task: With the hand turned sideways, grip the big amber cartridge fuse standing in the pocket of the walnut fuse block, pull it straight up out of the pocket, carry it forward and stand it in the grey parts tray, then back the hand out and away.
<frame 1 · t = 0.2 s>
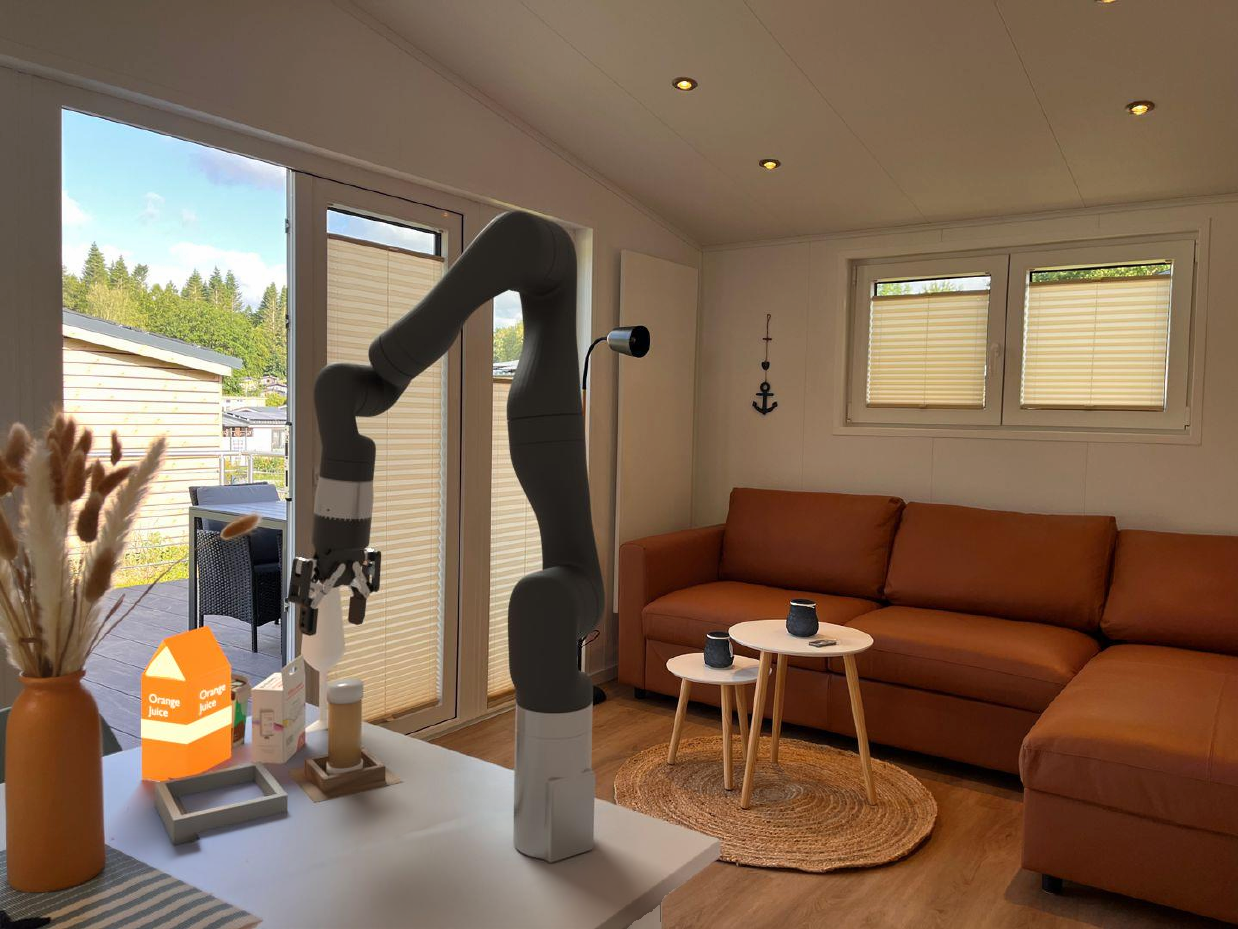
hand: (332, 628, 122), 22 cm above the table, tool pointing down, fingers open, 8 cm apart
orange juice: (187, 773, 126), on the table
grey parts tray: (220, 811, 114), on the table
ink cartridge box: (278, 760, 132), on the table
walnut fuse block: (344, 783, 123), on the table
food container: (225, 743, 138), on the table
champagne flute: (323, 732, 144), on the table
cartridge fuse: (344, 776, 123), point 1 cm above the table, touching walnut fuse block
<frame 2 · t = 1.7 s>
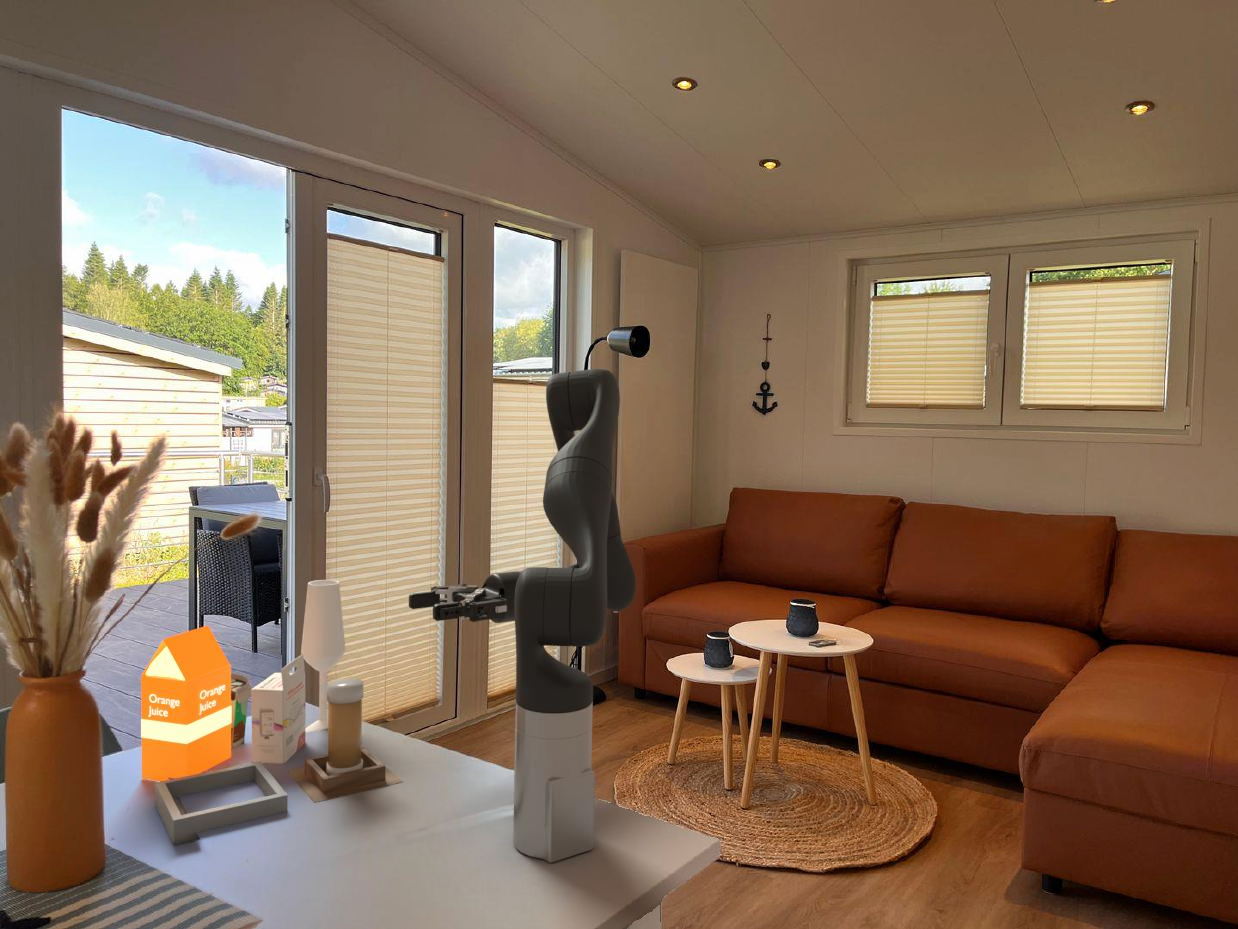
hand: (421, 607, 129), 23 cm above the table, tool horizontal, fingers open, 8 cm apart
nothing on the table moved.
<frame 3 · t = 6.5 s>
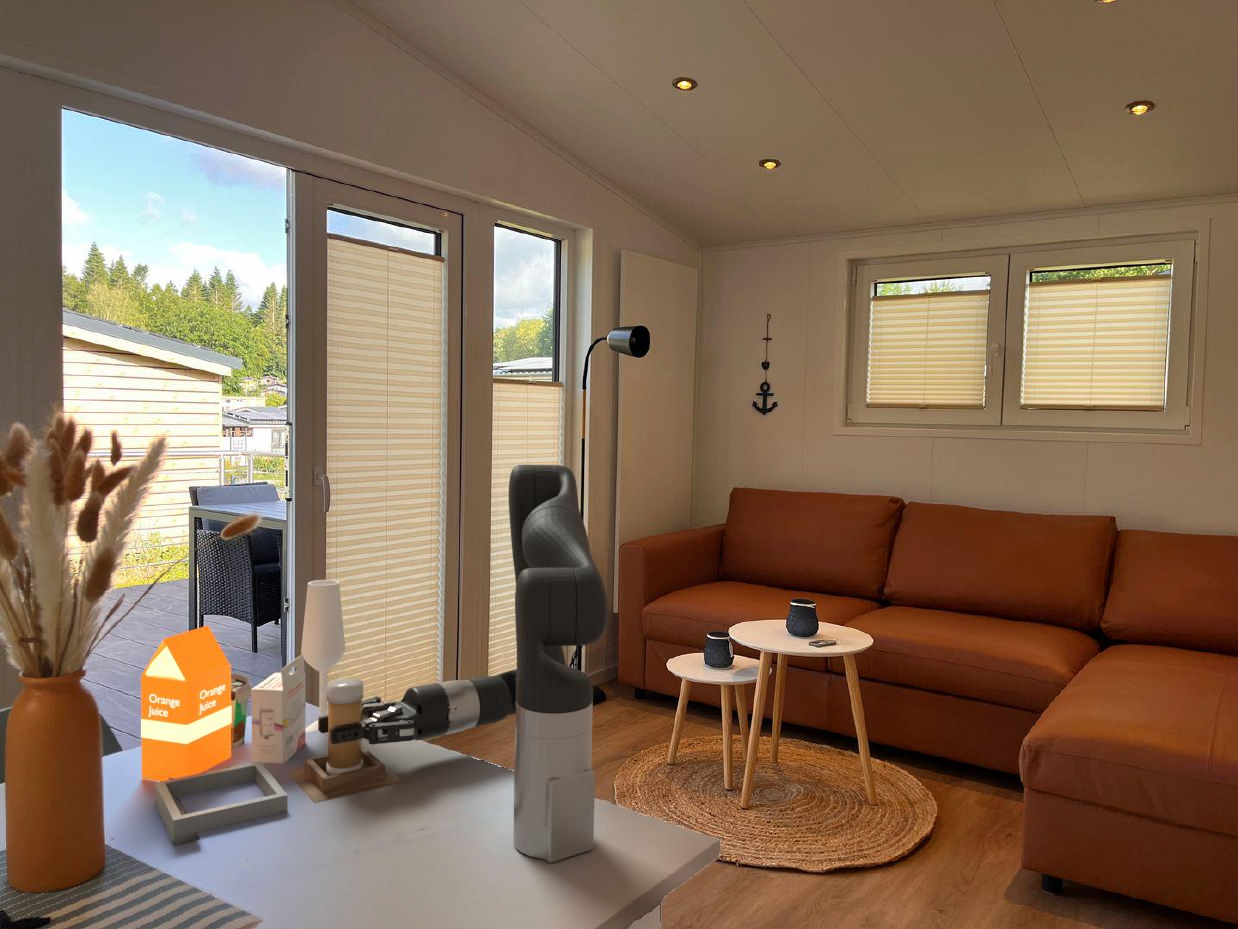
hand: (325, 730, 121), 8 cm above the table, tool horizontal, fingers closed on cartridge fuse, 4 cm apart
cartridge fuse: (344, 776, 123), point 1 cm above the table, touching gripper, walnut fuse block
everything else where it was.
when the fingers open (9 cm above the table, at t = 12.1 s): cartridge fuse stays where it is, resting on grey parts tray.
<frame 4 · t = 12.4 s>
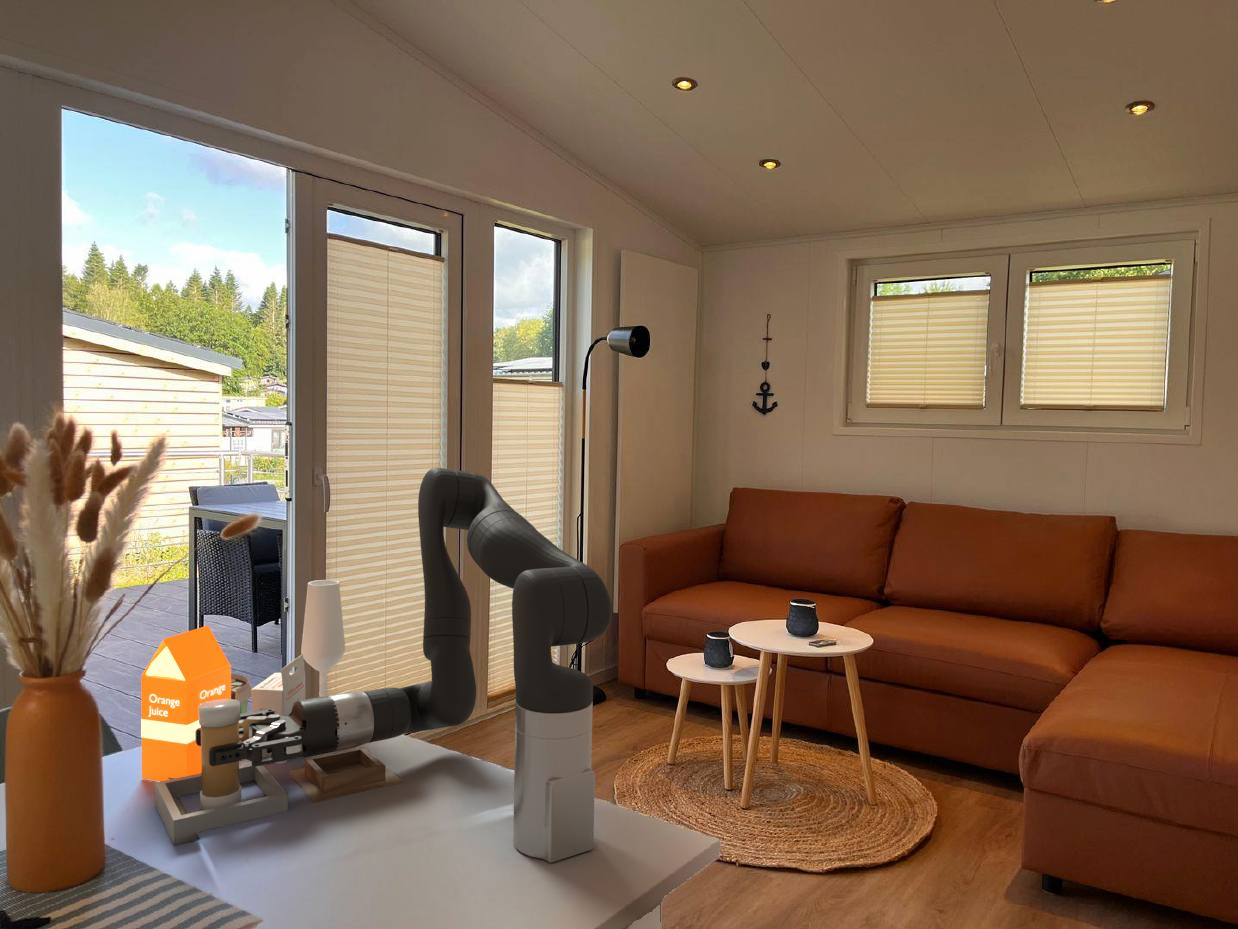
hand: (202, 747, 112), 9 cm above the table, tool horizontal, fingers open, 7 cm apart
cartridge fuse: (220, 805, 114), point 1 cm above the table, touching grey parts tray
everything else where it was.
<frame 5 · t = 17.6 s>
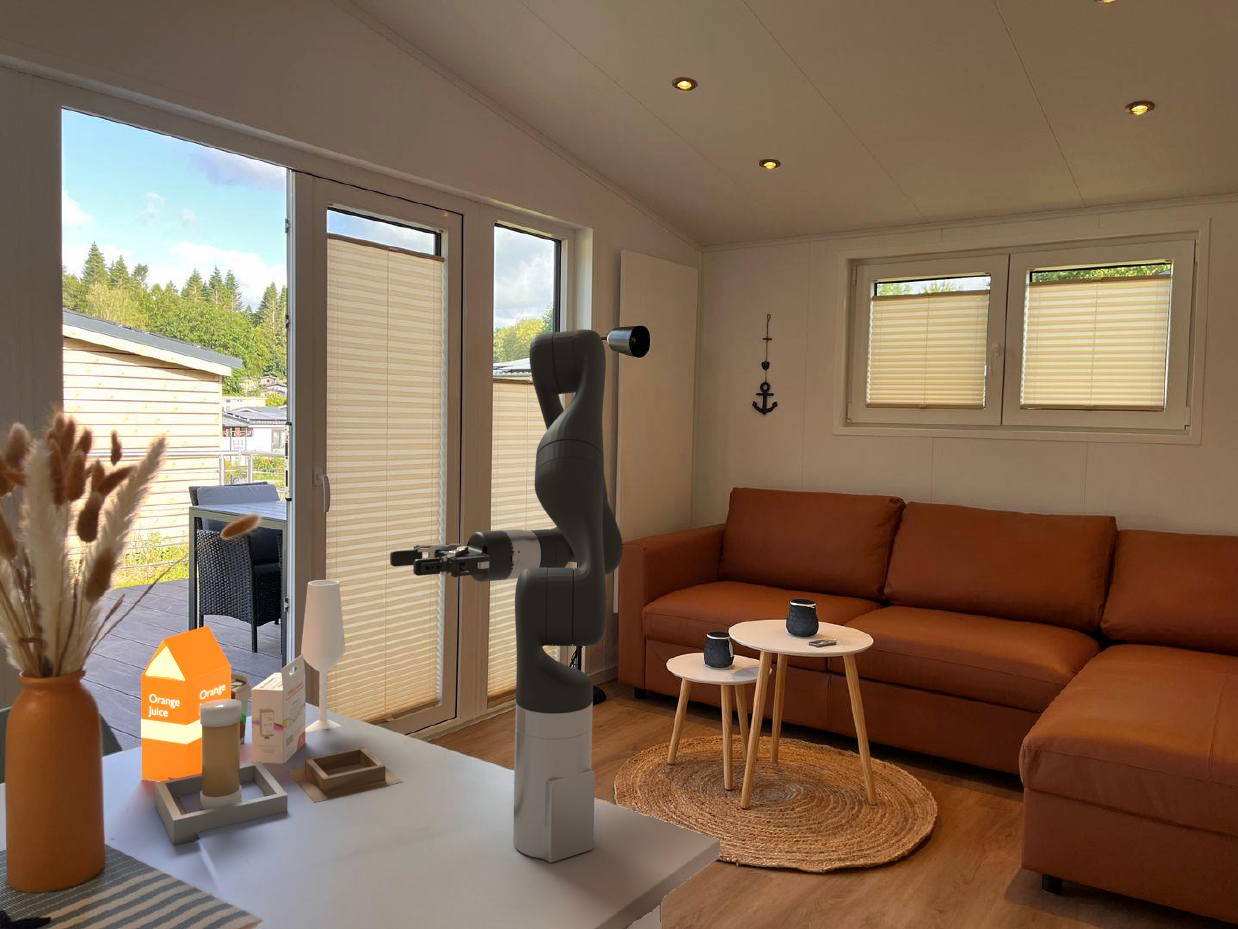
hand: (402, 563, 127), 30 cm above the table, tool horizontal, fingers open, 8 cm apart
nothing on the table moved.
at the end: cartridge fuse inside the target area on the grey parts tray (0.1 cm from its centre), point 0.8 cm above the grey parts tray's base; cartridge fuse tilted 0°; the gripper is holding nothing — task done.
